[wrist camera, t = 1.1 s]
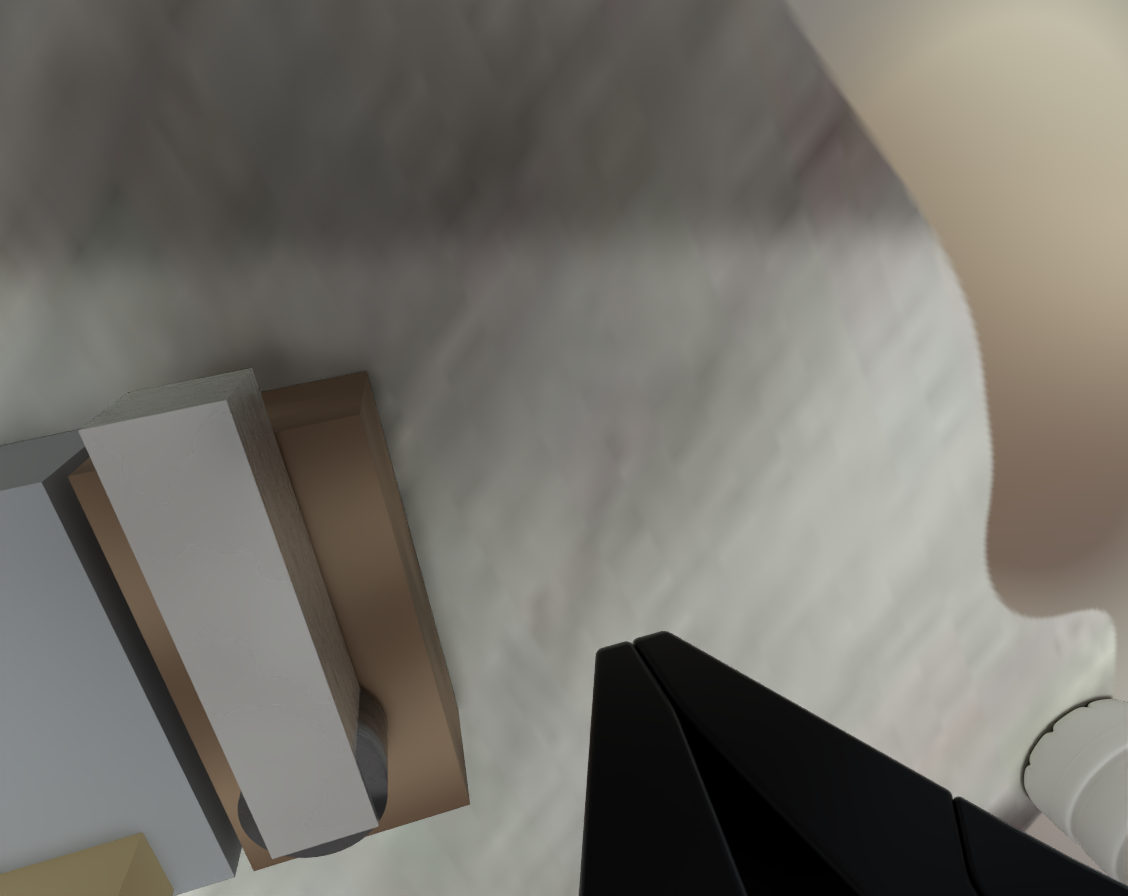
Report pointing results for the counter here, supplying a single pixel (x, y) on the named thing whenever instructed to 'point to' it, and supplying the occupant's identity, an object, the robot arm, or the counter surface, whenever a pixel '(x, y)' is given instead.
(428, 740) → the jamb block
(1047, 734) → the water bottle
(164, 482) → the bar
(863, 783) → the robot arm
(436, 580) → the counter surface
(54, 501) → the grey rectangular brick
